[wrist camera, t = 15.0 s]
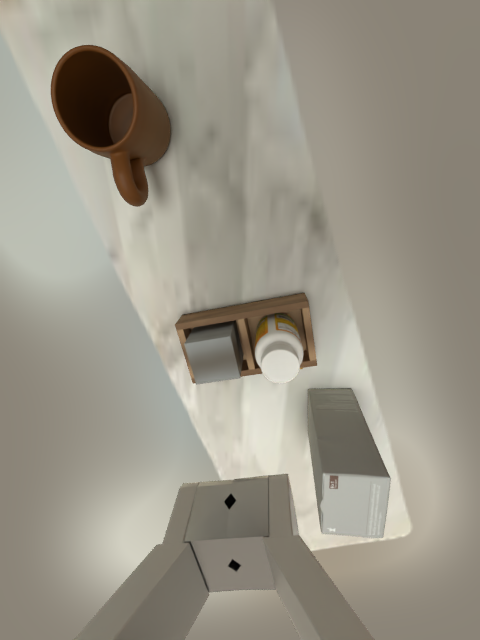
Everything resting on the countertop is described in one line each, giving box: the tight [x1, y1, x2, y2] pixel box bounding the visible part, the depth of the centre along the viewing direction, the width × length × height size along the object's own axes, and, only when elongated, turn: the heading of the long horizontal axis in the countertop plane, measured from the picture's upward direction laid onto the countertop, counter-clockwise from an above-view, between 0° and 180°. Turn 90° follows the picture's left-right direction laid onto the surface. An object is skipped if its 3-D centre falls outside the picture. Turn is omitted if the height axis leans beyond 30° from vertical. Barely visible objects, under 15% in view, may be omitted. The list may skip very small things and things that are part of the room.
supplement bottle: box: [255, 313, 303, 383], centre depth 35 cm, size 5×5×10 cm
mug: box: [51, 45, 171, 206], centre depth 29 cm, size 12×8×9 cm, turn 13°
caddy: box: [175, 293, 317, 384], centre depth 37 cm, size 9×16×7 cm, turn 102°
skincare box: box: [308, 389, 391, 538], centre depth 36 cm, size 8×7×16 cm
